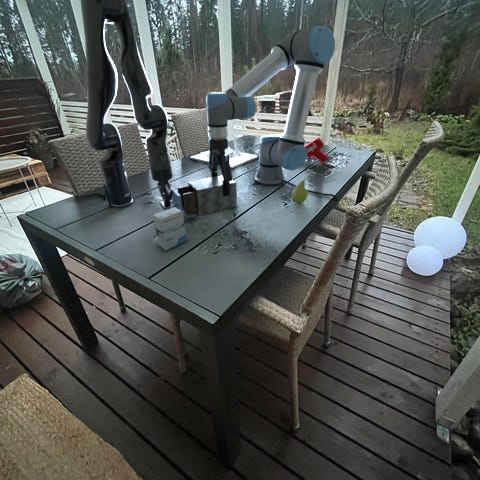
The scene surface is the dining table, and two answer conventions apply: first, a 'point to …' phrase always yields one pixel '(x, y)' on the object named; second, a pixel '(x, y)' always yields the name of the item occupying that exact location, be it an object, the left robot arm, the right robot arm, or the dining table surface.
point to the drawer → (183, 200)
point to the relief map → (234, 157)
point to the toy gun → (316, 150)
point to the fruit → (300, 192)
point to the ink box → (170, 228)
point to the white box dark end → (213, 195)
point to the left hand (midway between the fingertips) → (168, 208)
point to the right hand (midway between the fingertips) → (220, 191)
